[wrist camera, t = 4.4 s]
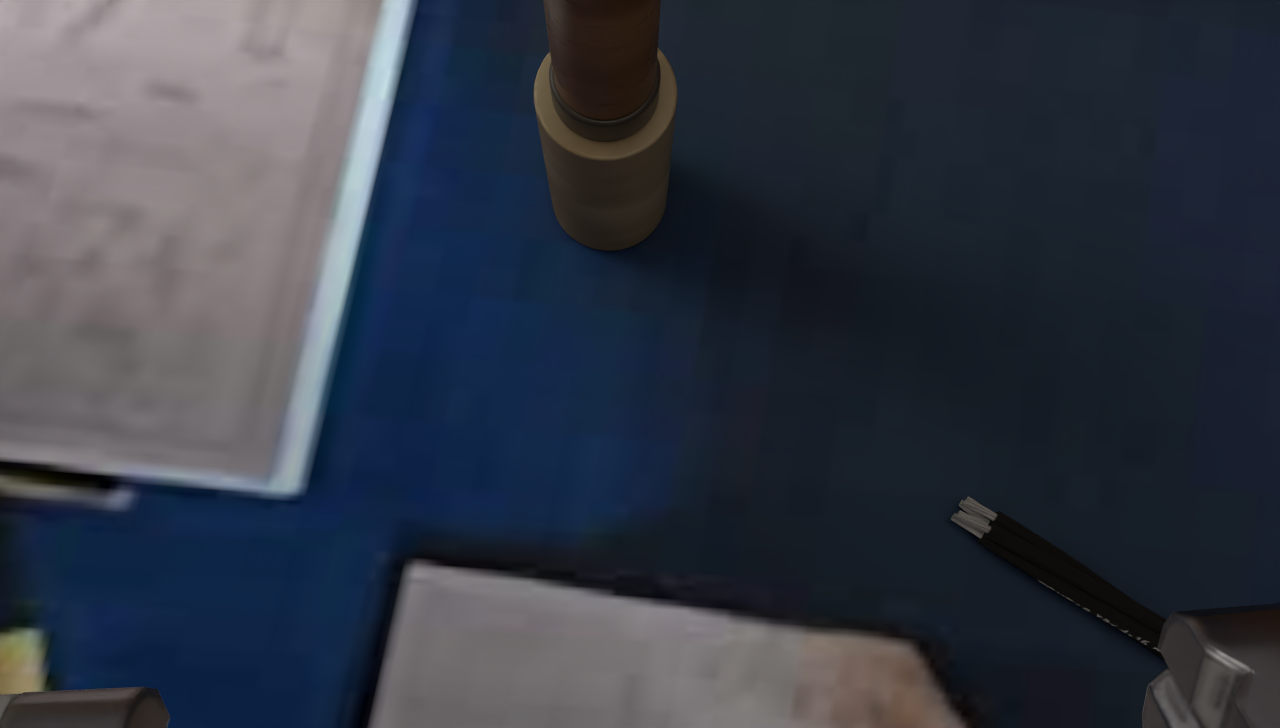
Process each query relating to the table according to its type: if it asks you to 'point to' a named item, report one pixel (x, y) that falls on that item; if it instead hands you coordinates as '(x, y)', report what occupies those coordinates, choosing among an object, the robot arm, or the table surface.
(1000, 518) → the electrical cable
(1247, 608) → the robot arm
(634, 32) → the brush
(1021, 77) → the table surface
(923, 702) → the table surface
